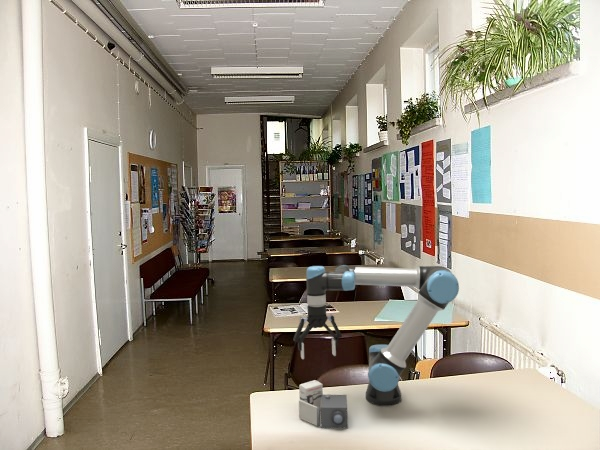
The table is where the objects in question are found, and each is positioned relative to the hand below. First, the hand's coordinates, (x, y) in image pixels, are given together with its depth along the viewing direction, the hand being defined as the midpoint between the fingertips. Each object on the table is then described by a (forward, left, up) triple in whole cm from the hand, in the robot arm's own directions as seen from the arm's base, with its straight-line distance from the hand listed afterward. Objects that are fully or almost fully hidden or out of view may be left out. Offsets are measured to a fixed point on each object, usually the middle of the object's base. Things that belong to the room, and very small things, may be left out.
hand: (318, 356), depth 206 cm
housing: (-6, +10, -22) cm, 25 cm away
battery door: (+3, +12, -22) cm, 25 cm away
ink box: (+3, +2, -23) cm, 23 cm away
